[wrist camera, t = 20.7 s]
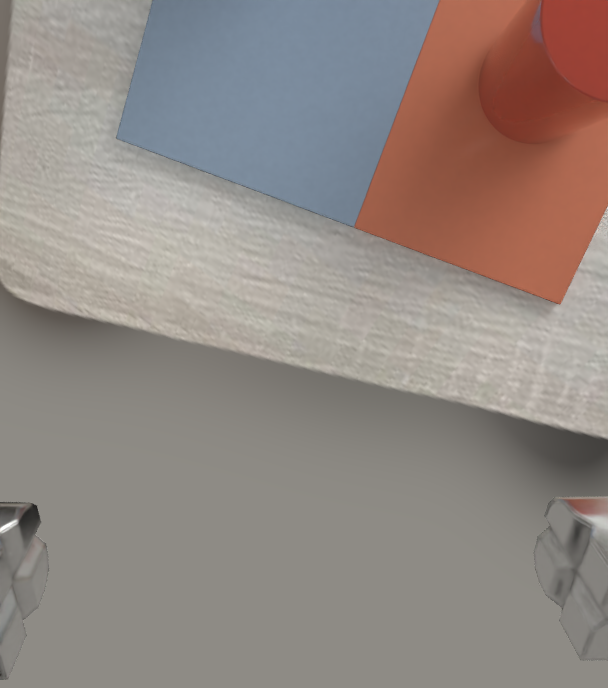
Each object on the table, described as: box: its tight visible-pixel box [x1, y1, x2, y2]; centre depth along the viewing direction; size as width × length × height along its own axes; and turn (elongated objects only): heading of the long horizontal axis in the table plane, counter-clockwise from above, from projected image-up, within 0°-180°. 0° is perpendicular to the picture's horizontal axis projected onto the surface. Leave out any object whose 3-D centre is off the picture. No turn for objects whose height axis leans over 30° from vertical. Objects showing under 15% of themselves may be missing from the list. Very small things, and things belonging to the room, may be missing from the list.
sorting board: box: [116, 0, 608, 304], centre depth 29 cm, size 26×20×1 cm
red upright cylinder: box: [478, 0, 608, 144], centre depth 23 cm, size 6×6×10 cm
